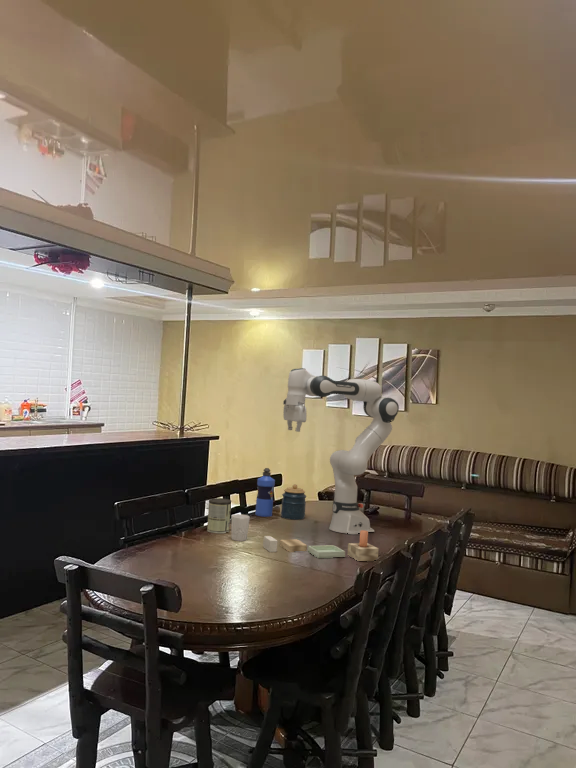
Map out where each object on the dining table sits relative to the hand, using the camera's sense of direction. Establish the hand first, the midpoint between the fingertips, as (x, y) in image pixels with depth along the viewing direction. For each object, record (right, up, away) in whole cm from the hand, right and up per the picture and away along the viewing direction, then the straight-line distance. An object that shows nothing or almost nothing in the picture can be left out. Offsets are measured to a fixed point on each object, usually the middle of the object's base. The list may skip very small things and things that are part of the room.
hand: (293, 430), depth 275 cm
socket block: (+27, -49, -40) cm, 69 cm away
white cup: (-24, -46, -23) cm, 56 cm away
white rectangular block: (-10, -46, -37) cm, 60 cm away
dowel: (+27, -49, -40) cm, 69 cm away
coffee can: (-35, -45, -10) cm, 58 cm away
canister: (0, -49, +34) cm, 60 cm away
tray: (+13, -48, -39) cm, 63 cm away
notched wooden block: (-1, -47, -33) cm, 57 cm away
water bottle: (-16, -48, +35) cm, 61 cm away
